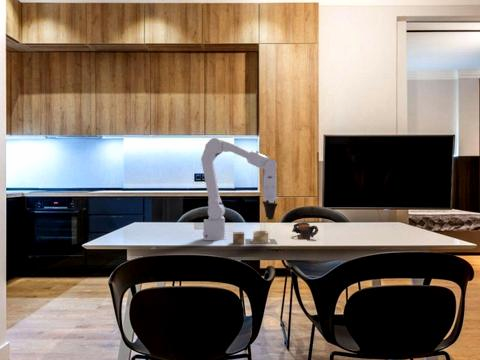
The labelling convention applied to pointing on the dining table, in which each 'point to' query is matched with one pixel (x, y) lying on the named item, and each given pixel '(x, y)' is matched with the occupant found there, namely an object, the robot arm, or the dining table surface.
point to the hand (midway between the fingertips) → (269, 218)
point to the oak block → (260, 236)
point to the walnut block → (238, 238)
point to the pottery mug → (305, 230)
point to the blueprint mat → (250, 241)
